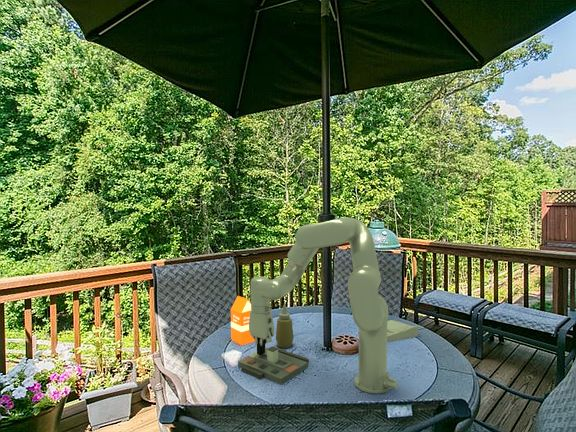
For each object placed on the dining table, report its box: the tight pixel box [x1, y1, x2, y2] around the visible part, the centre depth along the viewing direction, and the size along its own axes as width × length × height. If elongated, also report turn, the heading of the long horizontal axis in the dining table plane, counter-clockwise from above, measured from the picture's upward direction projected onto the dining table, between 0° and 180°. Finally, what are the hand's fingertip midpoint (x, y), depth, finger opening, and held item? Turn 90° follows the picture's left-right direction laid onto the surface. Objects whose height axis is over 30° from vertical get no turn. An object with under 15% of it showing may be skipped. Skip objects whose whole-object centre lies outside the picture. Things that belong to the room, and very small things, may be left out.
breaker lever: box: [267, 346, 279, 363], centre depth 138 cm, size 3×3×5 cm
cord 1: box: [240, 366, 265, 380], centre depth 133 cm, size 10×2×2 cm, turn 51°
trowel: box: [387, 319, 419, 343], centre depth 168 cm, size 28×16×5 cm, turn 91°
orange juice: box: [230, 295, 255, 346], centre depth 164 cm, size 8×9×20 cm
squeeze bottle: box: [275, 305, 295, 349], centre depth 158 cm, size 8×8×18 cm
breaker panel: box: [237, 347, 309, 385], centre depth 139 cm, size 22×16×3 cm
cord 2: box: [274, 346, 310, 364], centre depth 147 cm, size 18×2×2 cm, turn 51°
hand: (261, 353), depth 142 cm, fingers closed
